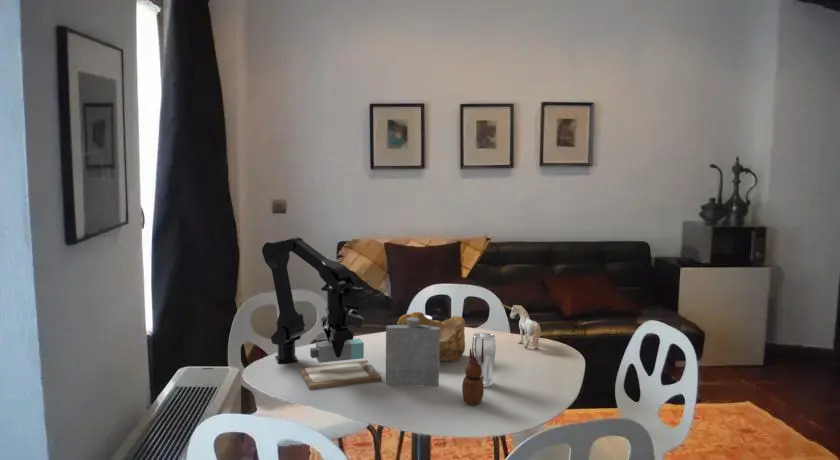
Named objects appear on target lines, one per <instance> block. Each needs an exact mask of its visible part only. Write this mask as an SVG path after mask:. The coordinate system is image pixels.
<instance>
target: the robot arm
mask: <svg viewBox="0 0 840 460" xmlns="http://www.w3.org/2000/svg"><path fill="white" fill-rule="evenodd" d="M290 252H291V253H293V254H295V255H296V256H298V257H299V258H300V259H301V260H303V262H305V263H307V264H308V265H309V266H311V267H312V268H313V269H314V270H316V271H317V273H318V275H319V277H320V279H321V280H322V281H323V282H325V284H324V286H322V288H320V290H321V291H324V292H326V307H325V312H326V315H325V316H322V317H321V318H320V326H321V328H323V329H322V330H323V333H324V334H325V337H326V341H331V343H332V346H333V349H334V352H335V354H336V357H337V358H338V357H340V356H341V353H342V349H343V346H344V343H345V341H347V340H352V339H354V332H353V331H352V329H350V328H349V326H352V327H356V328H357V329H362V326H363V324H364V321H365V318H364V317H363V316H362V315H360V314H358V311H366V309H367V307H368V306H369V302H370V301H369V300H370V297H369V296H368V293H367V292H366V291H365V290H366V289H365V287H357V285H356V283H355V281H354V279H353V278H352V276H351V274H350V272H349V269H348V267H347V266H346V265H345V264H342V263H340V262H338V261H336V260H332V259H329V258H327V257H326V256H325V255H323V254H321V252H319V251H318V250H316V249H315V248H314V247H312V246H311V245H309V244H308V243H307V242H306V241H304V239H303V238H302V237H299V236H296V237H291V238H288V239H285V240H282V239H278V240H274V241H268V242H265V243H264V245H263V246H262V248H261V253H262V255H263V260H264V262H265V263H266V265H267V266H268V267H269V268H270V269H271V274H272V279H273V284H274V290H275V295H276V300H277V305H278V312H279V313H278V317H277V320H276V321H277V322H276V331H275V332H274V333H273V334H272V336H271V337H270V339H271V344H274V345H277V347H276V348H277V350H276V351H277V355H275V360H276V362H277V364H284V363H285V364H286V363H294V362H295V363H296V362H298V361H299V359H298V357H297V356H296V341H298V340H301V338H302V335H303V333H304V332H305V327H306V324H305V322H304V316H303V314H302V313H300V314H299V313H298V312H297V310H296V308H295V304H294V303H295V302H294V298H293V292H292V288H291V282H290V277H289V273H288V271H289V270H288V264H289V261H290V257H291V256H290ZM347 309H350V310H347ZM324 327H325V328H324Z"/></svg>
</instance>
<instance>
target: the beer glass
mask: <svg viewBox="0 0 840 460" xmlns="http://www.w3.org/2000/svg"><path fill="white" fill-rule="evenodd" d="M496 348H497V347H496V335H495V334H494V333H491V332H476V333H473V335H472V346H471V351H472V354H473V352H474V357H476V360H477V361H478V364H480V365H481V368H482V374H481V376H480V378H481V379H482V381H483V385H484V387H486V388H490V387H489V386H491V387H492V386H493V384H494V381H493V367H494V363H495V358H496V351H497V350H496Z"/></svg>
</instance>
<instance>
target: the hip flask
mask: <svg viewBox="0 0 840 460" xmlns="http://www.w3.org/2000/svg"><path fill="white" fill-rule="evenodd" d="M407 322H408V325H398V324H392V325H391V324H389V325H386V326H385V385H388V386H417V385H424V386H423V387H429V386H437V387H438V385H439V383H440V361H439V346H440V328H439V327H434V326H428V325H419V323H418V322H419V318H414V317H412V318H408V319H407ZM439 386H440V385H439Z"/></svg>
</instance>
